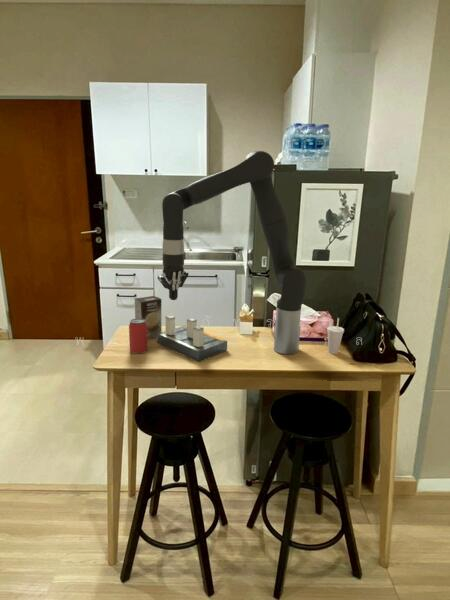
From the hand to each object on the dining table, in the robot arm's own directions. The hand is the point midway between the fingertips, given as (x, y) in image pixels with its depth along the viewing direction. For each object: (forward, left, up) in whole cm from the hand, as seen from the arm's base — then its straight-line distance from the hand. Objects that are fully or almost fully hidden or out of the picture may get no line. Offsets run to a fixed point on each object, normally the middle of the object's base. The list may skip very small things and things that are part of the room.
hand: (173, 299), depth 147 cm
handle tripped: (-9, 0, -17) cm, 19 cm away
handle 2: (-5, +8, -17) cm, 19 cm away
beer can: (+8, -11, -21) cm, 25 cm away
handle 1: (-5, -8, -17) cm, 19 cm away
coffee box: (-4, -21, -21) cm, 30 cm away
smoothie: (-46, +41, -21) cm, 65 cm away
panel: (-9, 0, -21) cm, 23 cm away
